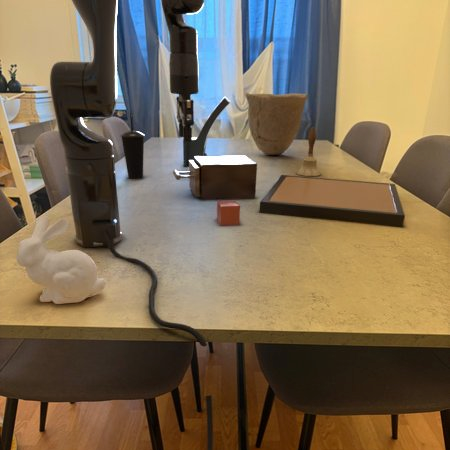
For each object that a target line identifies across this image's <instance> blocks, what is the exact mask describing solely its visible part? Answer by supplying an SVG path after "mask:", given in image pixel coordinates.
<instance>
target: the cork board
mask: <svg viewBox="0 0 450 450" xmlns="http://www.w3.org/2000/svg"><path fill="white" fill-rule="evenodd" d="M259 213H261V214H270V215H271V214H272V215H282V216H289V217H290V216H291V217H301V218H309V219H310V218H311V219H321V220H331V221H341V222H351V223H352V222H353V223H358V224H372V225H379V226H389V227H400V228H403V226H404V222H405V216H406V215H405V211H404V208H403V205H402V202H401V199H400V196H399V192H398V189H397V186H396V183H390V182H377V181H365V180H364V181H363V180H352V179H351V180H350V179H341V178H340V179H339V178H328V177H327V178H326V177H316V176H301V175H290V174H289V175H288V174H280V176H279V177H278V179H277V180H276V181H275V182H274V184H273V185H272V186H271V187H270V189H269V190H268V191H267V192H266V194H265V195H264V196H263V198H262V199H261V200H260V201H259Z"/></svg>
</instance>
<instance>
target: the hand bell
mask: <svg viewBox="0 0 450 450" xmlns="http://www.w3.org/2000/svg"><path fill="white" fill-rule="evenodd" d="M307 139H308V140H307V141H308V153H307V157H305V158H304V159H303V160H302V161H303V162H302V166H301V168H300V169H299V170H298V171H297V176H302V177H319V176H320V175H321V172H320V171H319V169H318V167H317V158H315V157H314V146H315V144H316V139H317V132H316V127H314V126H312V127H310V130H309V132H308V138H307Z"/></svg>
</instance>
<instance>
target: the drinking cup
mask: <svg viewBox="0 0 450 450" xmlns="http://www.w3.org/2000/svg"><path fill="white" fill-rule="evenodd" d="M129 119H130V130H128V131H127V130H126V131H124V132H123V133H120V137H121V143H122V149H123V153H124V159H125V165H126V171H127V177H128V179H130V180H142V179H144V156H145V155H144V154H145V153H144V152H145V151H144V150H145V149H144V147H145V134H144V133H142V132H140V131H138V130H134V120H133V113H132V112H131V113H129Z"/></svg>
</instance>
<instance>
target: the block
mask: <svg viewBox="0 0 450 450" xmlns="http://www.w3.org/2000/svg"><path fill="white" fill-rule="evenodd" d="M240 217H241V205H240V204H239V203H238V202H237V201H236V200H216V221H217V222H218V223H219V225H220V226H240V222H241V221H240V219H241V218H240Z"/></svg>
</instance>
